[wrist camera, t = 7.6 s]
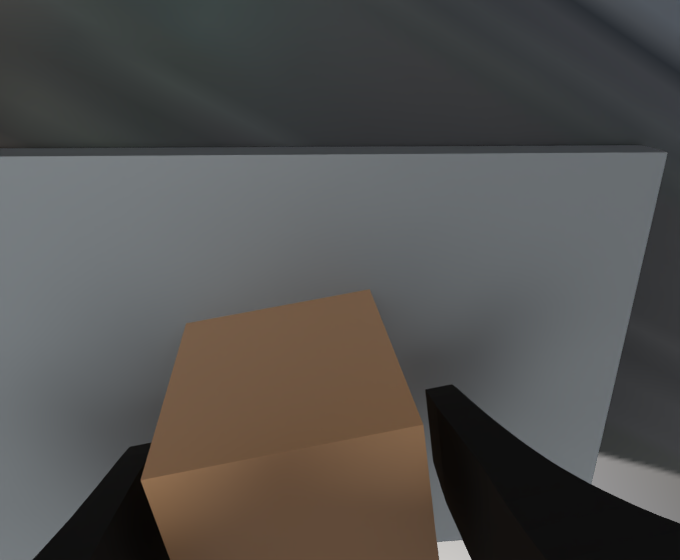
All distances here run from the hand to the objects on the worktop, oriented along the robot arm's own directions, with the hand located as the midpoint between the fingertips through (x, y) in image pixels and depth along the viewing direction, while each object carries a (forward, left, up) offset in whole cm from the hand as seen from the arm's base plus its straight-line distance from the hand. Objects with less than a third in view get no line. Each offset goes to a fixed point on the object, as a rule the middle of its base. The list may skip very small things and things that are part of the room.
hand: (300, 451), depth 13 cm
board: (0, 0, -4) cm, 4 cm away
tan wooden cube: (0, 0, -3) cm, 3 cm away
